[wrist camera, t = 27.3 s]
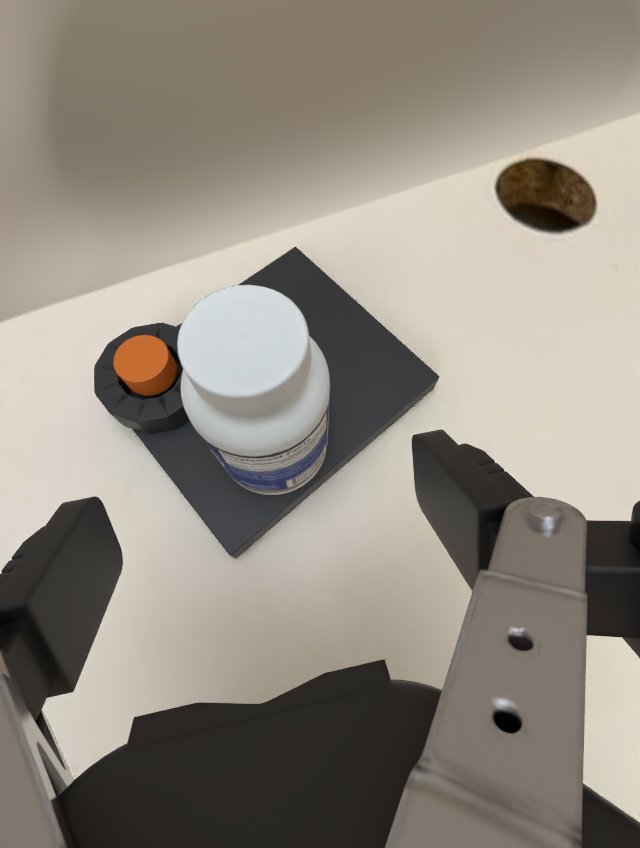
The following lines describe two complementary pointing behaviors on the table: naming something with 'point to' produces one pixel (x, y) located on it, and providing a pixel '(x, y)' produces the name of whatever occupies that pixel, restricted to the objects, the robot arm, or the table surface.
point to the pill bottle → (256, 387)
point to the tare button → (145, 365)
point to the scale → (348, 401)
